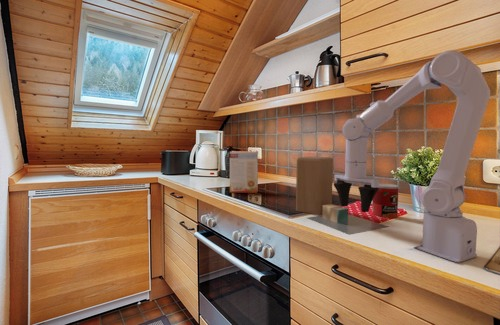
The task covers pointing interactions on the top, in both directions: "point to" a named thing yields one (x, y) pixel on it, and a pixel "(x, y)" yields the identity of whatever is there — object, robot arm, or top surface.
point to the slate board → (350, 224)
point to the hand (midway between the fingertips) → (354, 208)
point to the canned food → (386, 201)
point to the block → (314, 184)
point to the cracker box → (243, 172)
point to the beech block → (335, 213)
